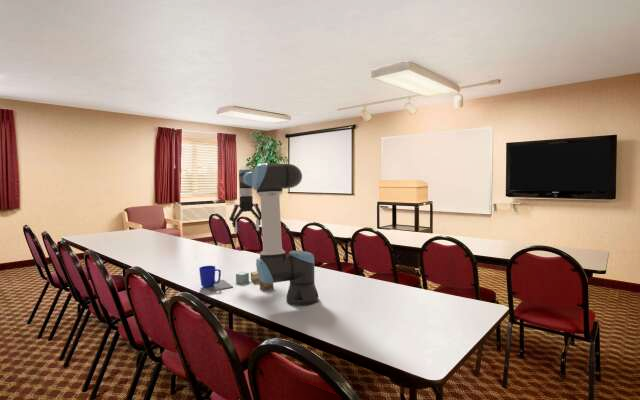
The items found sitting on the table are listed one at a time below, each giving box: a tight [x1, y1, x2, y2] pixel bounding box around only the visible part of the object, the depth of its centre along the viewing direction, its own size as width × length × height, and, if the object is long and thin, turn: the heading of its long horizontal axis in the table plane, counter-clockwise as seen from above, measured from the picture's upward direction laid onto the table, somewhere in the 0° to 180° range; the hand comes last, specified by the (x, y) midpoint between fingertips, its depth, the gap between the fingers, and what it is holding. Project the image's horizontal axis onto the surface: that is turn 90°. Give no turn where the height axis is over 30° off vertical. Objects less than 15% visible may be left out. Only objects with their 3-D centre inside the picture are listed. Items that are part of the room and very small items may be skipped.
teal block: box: [235, 271, 250, 285], centre depth 201 cm, size 5×5×5 cm
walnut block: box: [259, 280, 274, 291], centre depth 188 cm, size 5×5×5 cm
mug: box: [198, 265, 222, 288], centre depth 192 cm, size 8×12×10 cm
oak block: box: [250, 270, 260, 284], centre depth 202 cm, size 5×5×5 cm
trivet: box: [205, 279, 234, 293], centre depth 194 cm, size 16×12×1 cm
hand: (247, 231), depth 211 cm, fingers open, 13 cm apart
